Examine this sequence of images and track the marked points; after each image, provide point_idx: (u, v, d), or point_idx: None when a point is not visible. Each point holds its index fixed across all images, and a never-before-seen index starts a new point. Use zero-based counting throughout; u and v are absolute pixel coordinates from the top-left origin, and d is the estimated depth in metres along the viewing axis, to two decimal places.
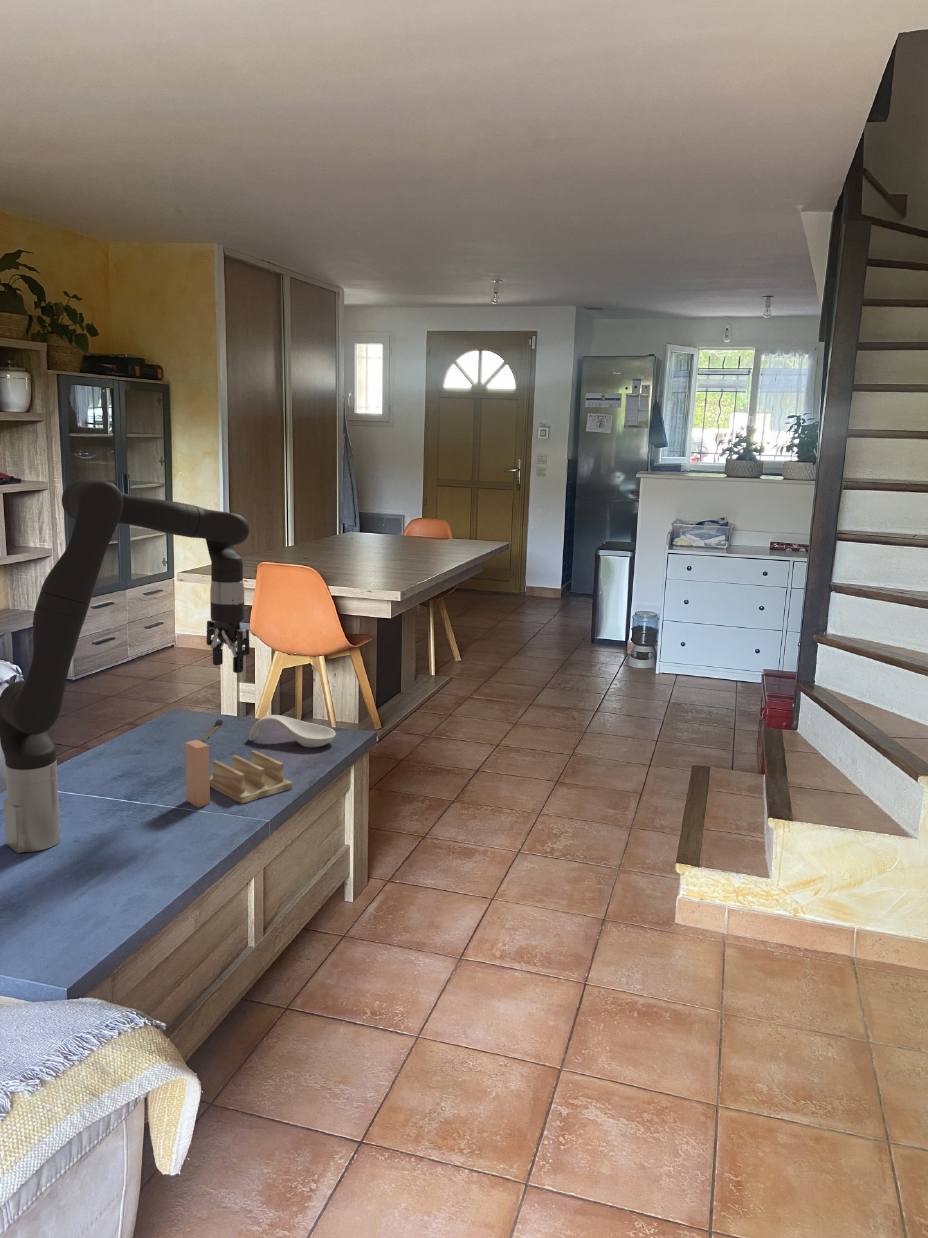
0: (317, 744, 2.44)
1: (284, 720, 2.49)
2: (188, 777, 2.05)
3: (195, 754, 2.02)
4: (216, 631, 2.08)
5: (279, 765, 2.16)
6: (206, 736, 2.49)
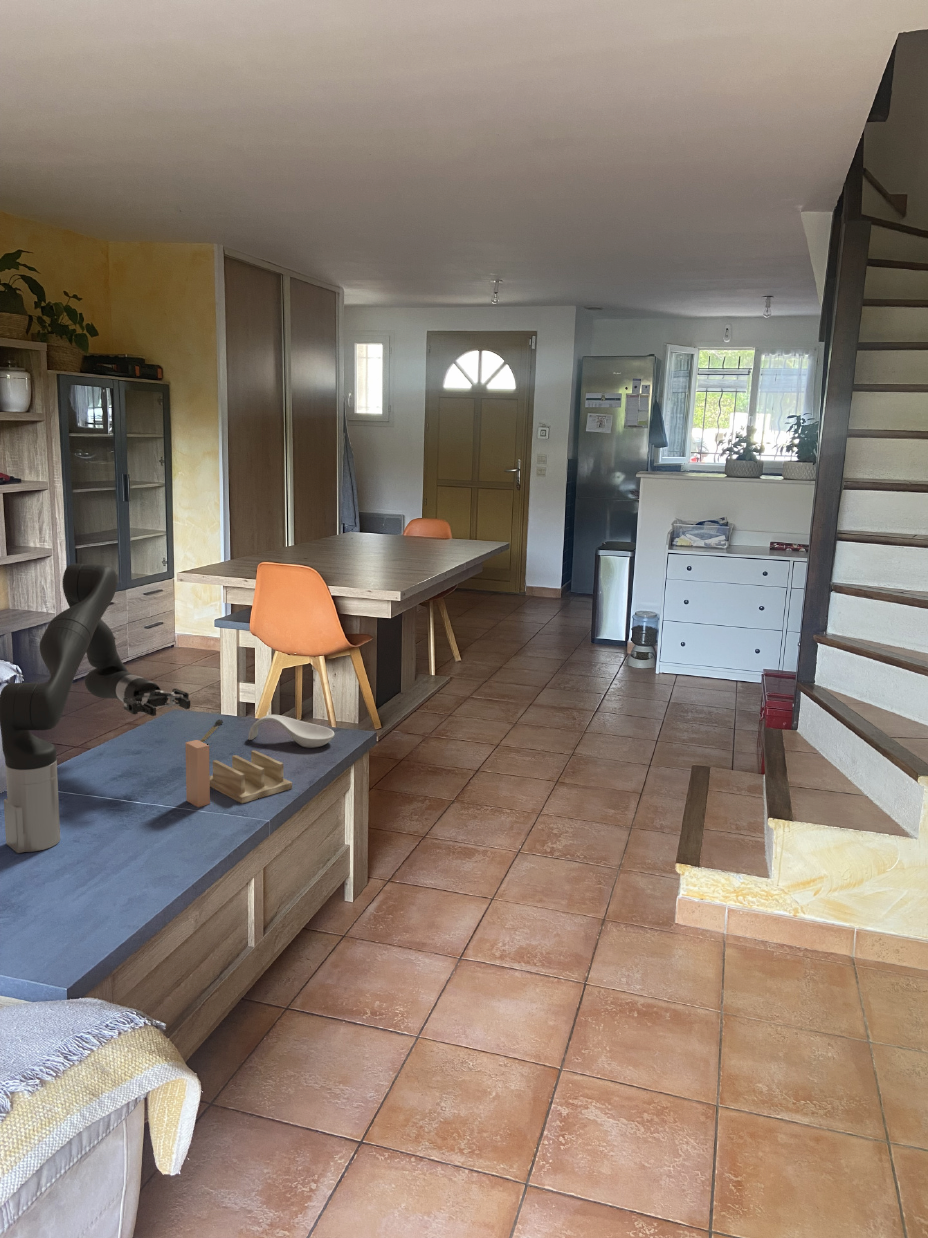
0: (315, 744, 2.44)
1: (283, 720, 2.49)
2: (188, 777, 2.05)
3: (195, 754, 2.02)
4: (146, 693, 2.14)
5: (279, 765, 2.16)
6: (206, 736, 2.49)
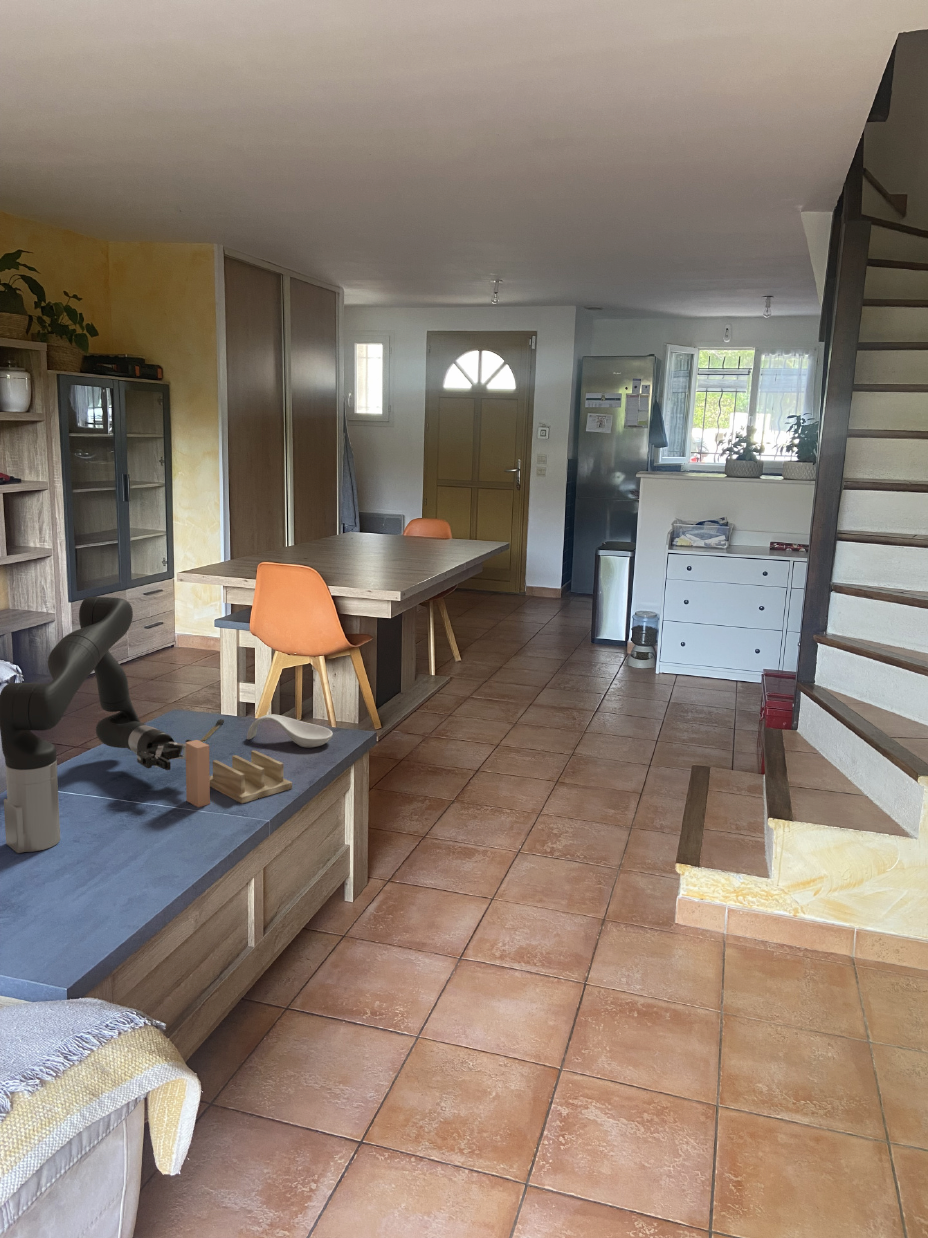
0: (313, 744, 2.44)
1: (282, 720, 2.49)
2: (188, 777, 2.05)
3: (195, 754, 2.02)
4: (160, 745, 2.12)
5: (279, 765, 2.16)
6: (207, 736, 2.50)
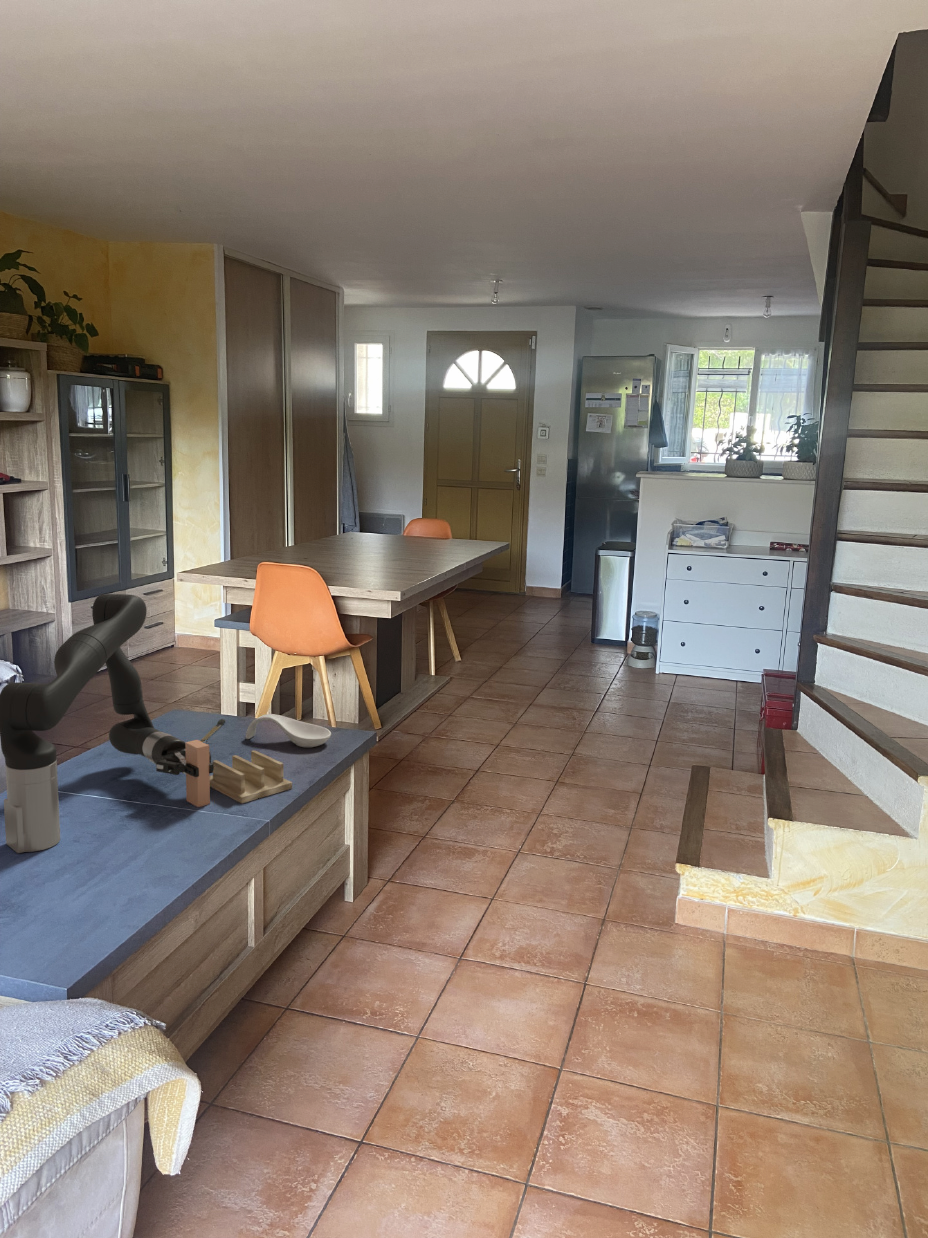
0: (311, 744, 2.44)
1: (280, 719, 2.50)
2: (188, 777, 2.05)
3: (195, 754, 2.02)
4: (176, 752, 2.08)
5: (279, 765, 2.16)
6: (207, 735, 2.50)
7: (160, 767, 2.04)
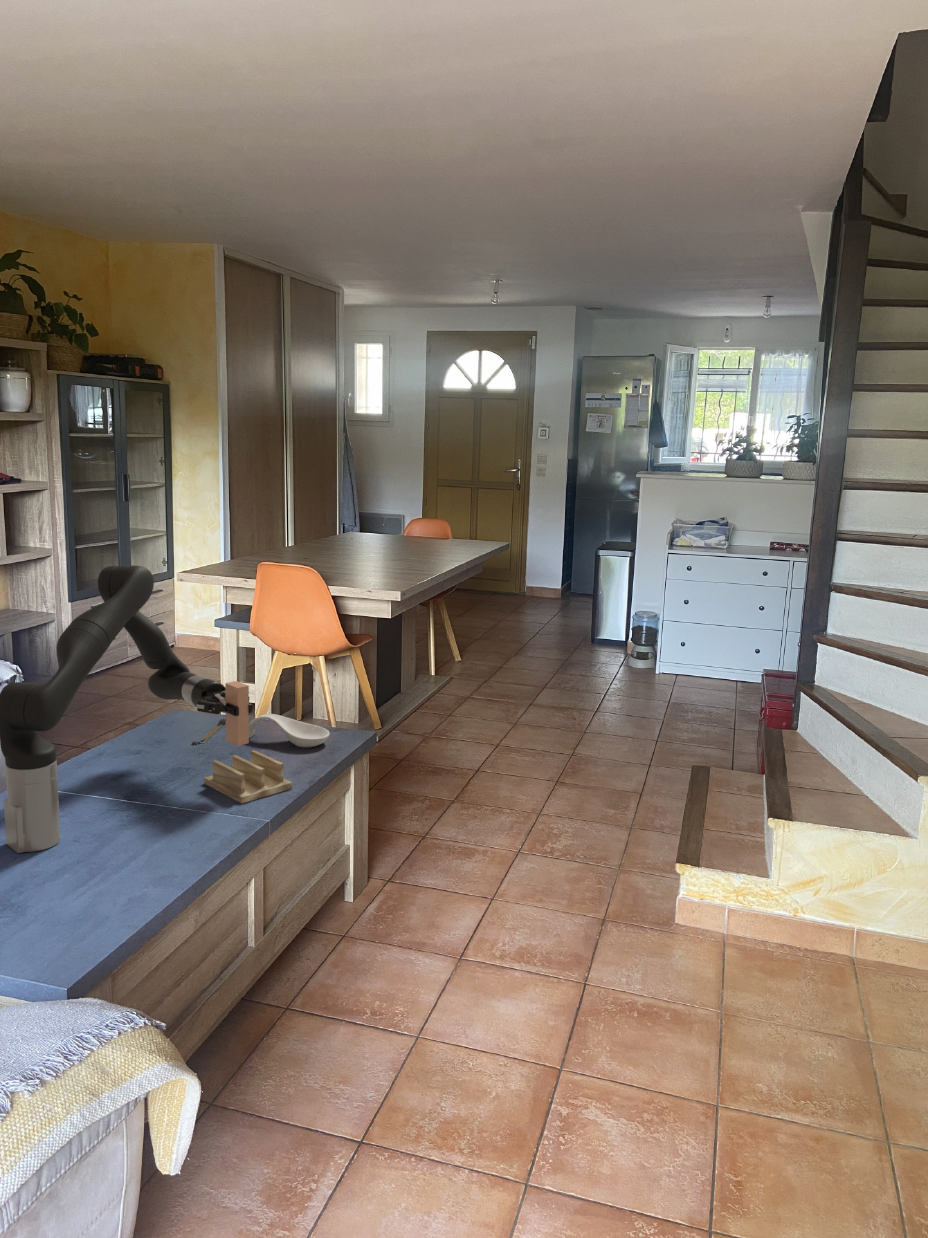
0: (309, 744, 2.44)
1: (279, 719, 2.50)
2: (228, 717, 2.12)
3: (235, 694, 2.08)
4: (215, 693, 2.14)
5: (279, 765, 2.16)
6: (208, 735, 2.50)
7: (201, 707, 2.11)
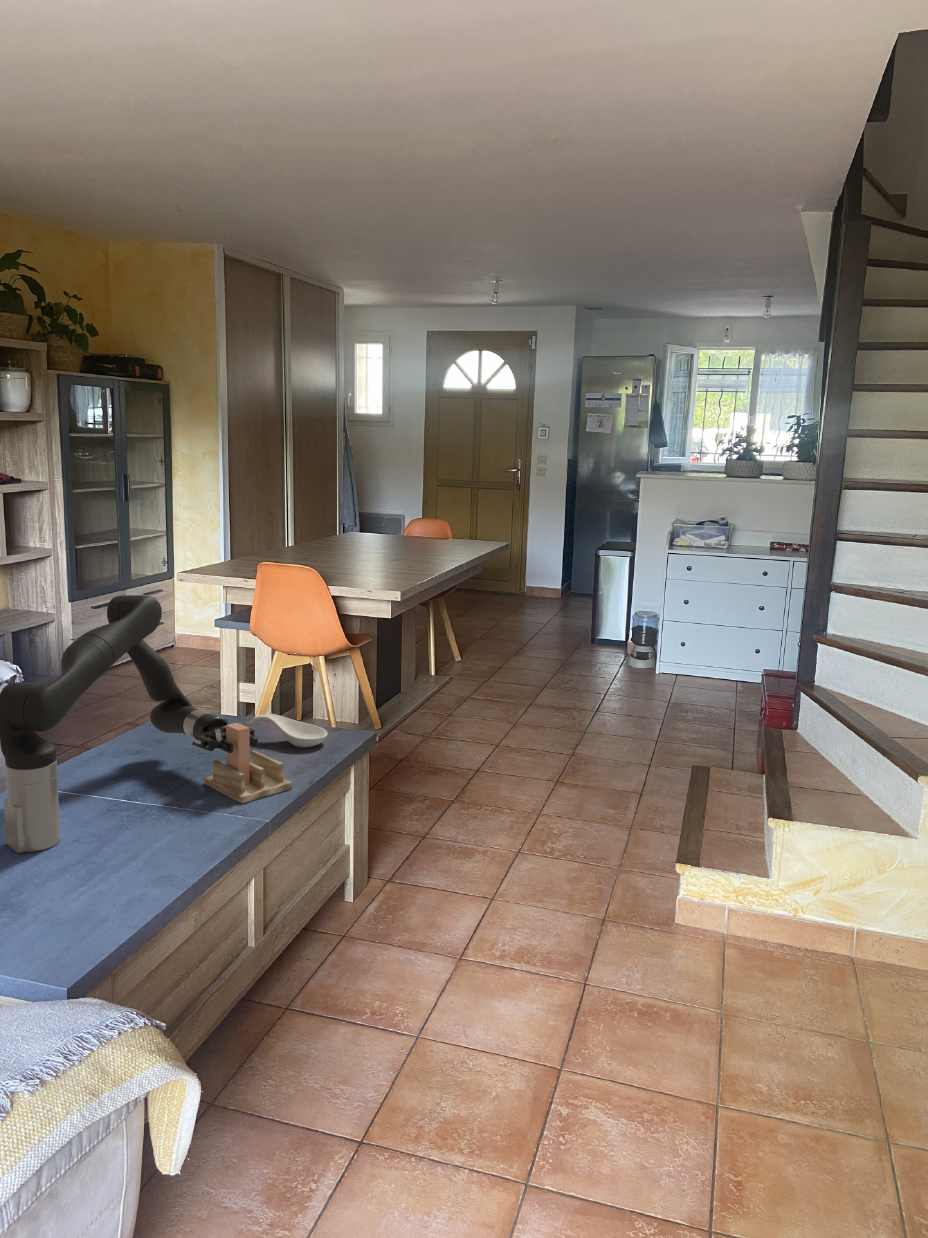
0: (307, 744, 2.43)
1: (277, 719, 2.50)
2: (229, 758, 2.14)
3: (236, 736, 2.10)
4: (216, 729, 2.16)
5: (279, 765, 2.16)
6: None
7: (198, 742, 2.12)
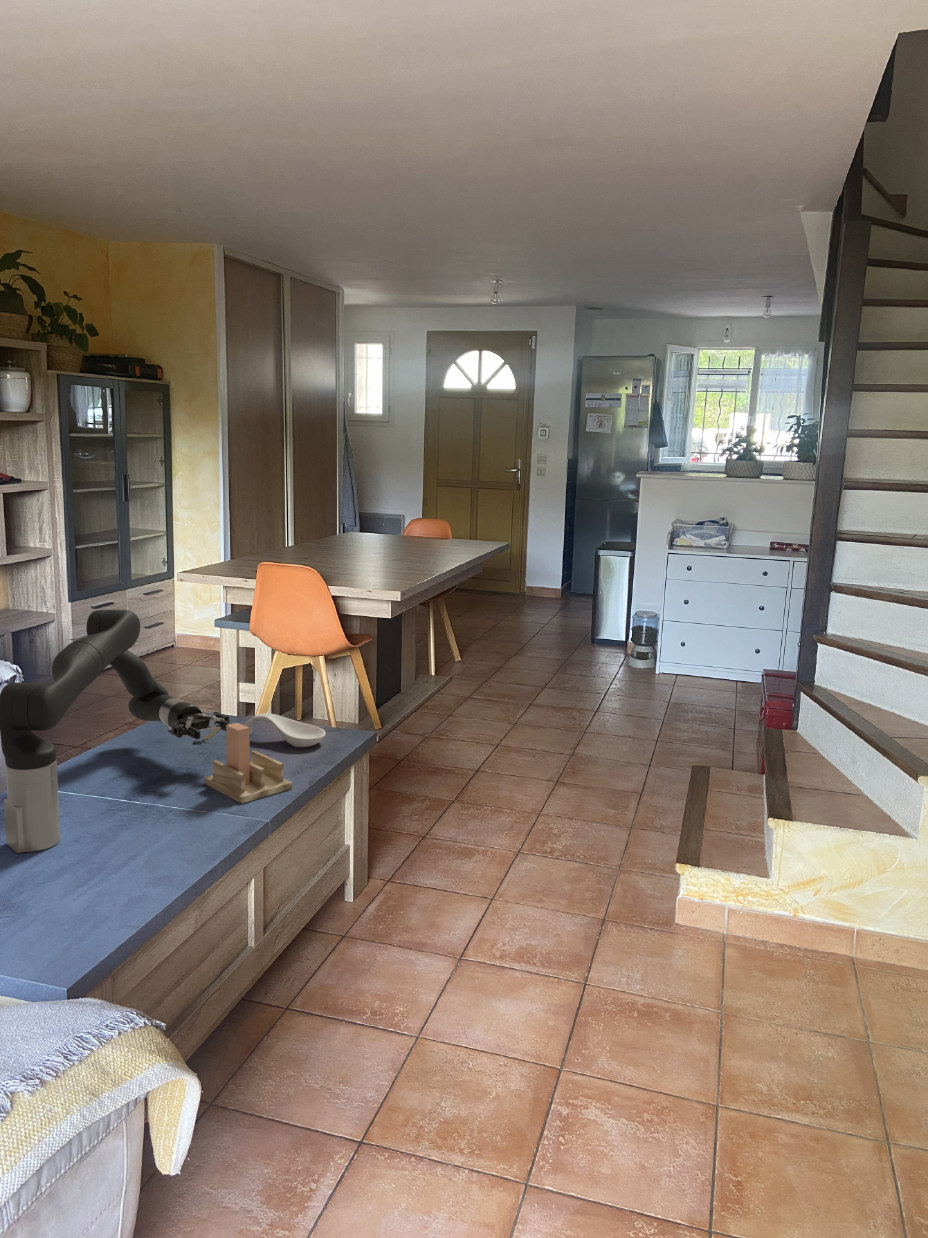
0: (304, 744, 2.43)
1: (276, 719, 2.50)
2: (229, 758, 2.14)
3: (236, 736, 2.10)
4: (190, 716, 2.24)
5: (279, 765, 2.16)
6: (210, 735, 2.51)
7: (170, 728, 2.21)
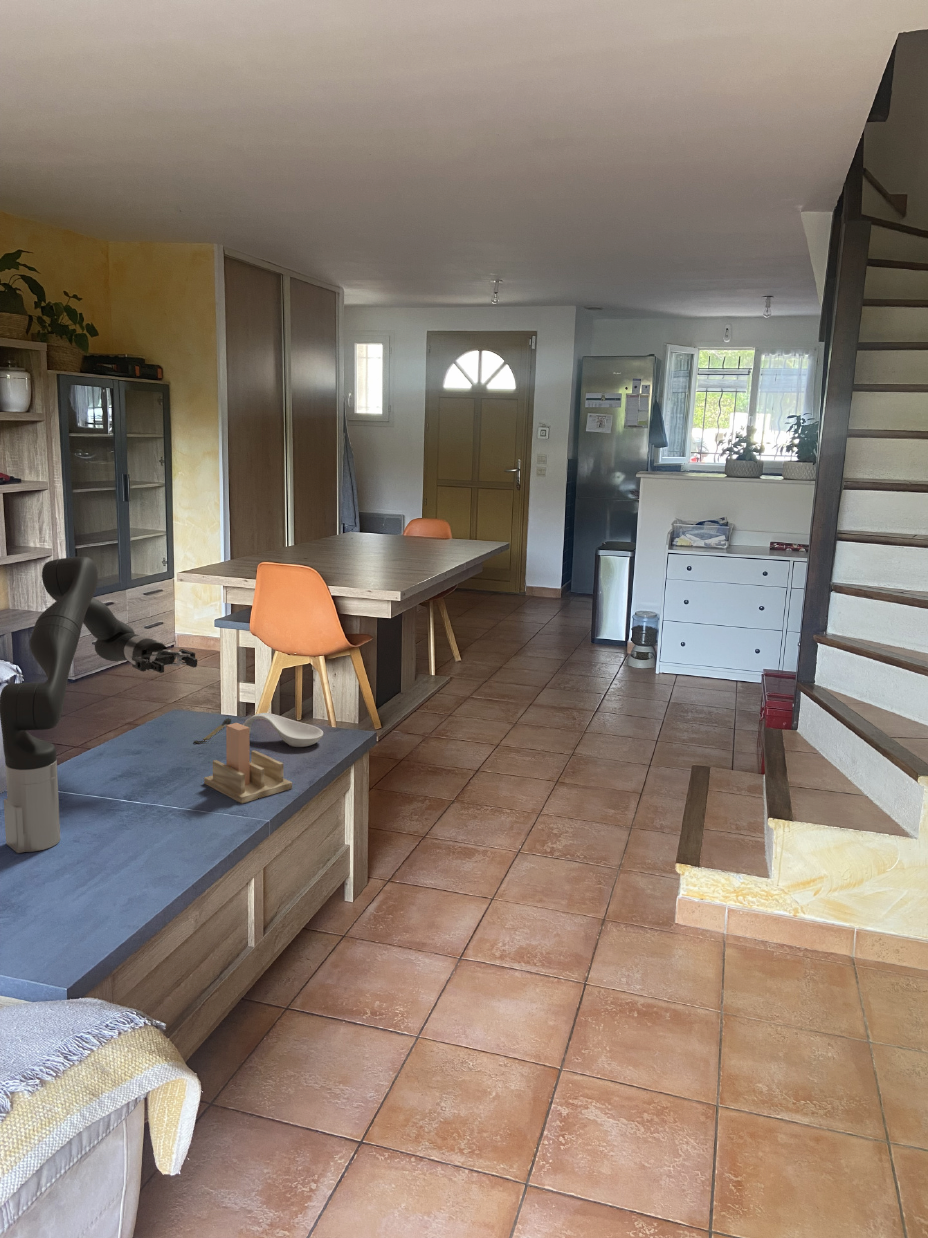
0: (301, 744, 2.43)
1: (274, 718, 2.50)
2: (229, 758, 2.14)
3: (236, 736, 2.10)
4: (154, 651, 2.20)
5: (279, 765, 2.16)
6: (211, 734, 2.51)
7: (133, 663, 2.16)
